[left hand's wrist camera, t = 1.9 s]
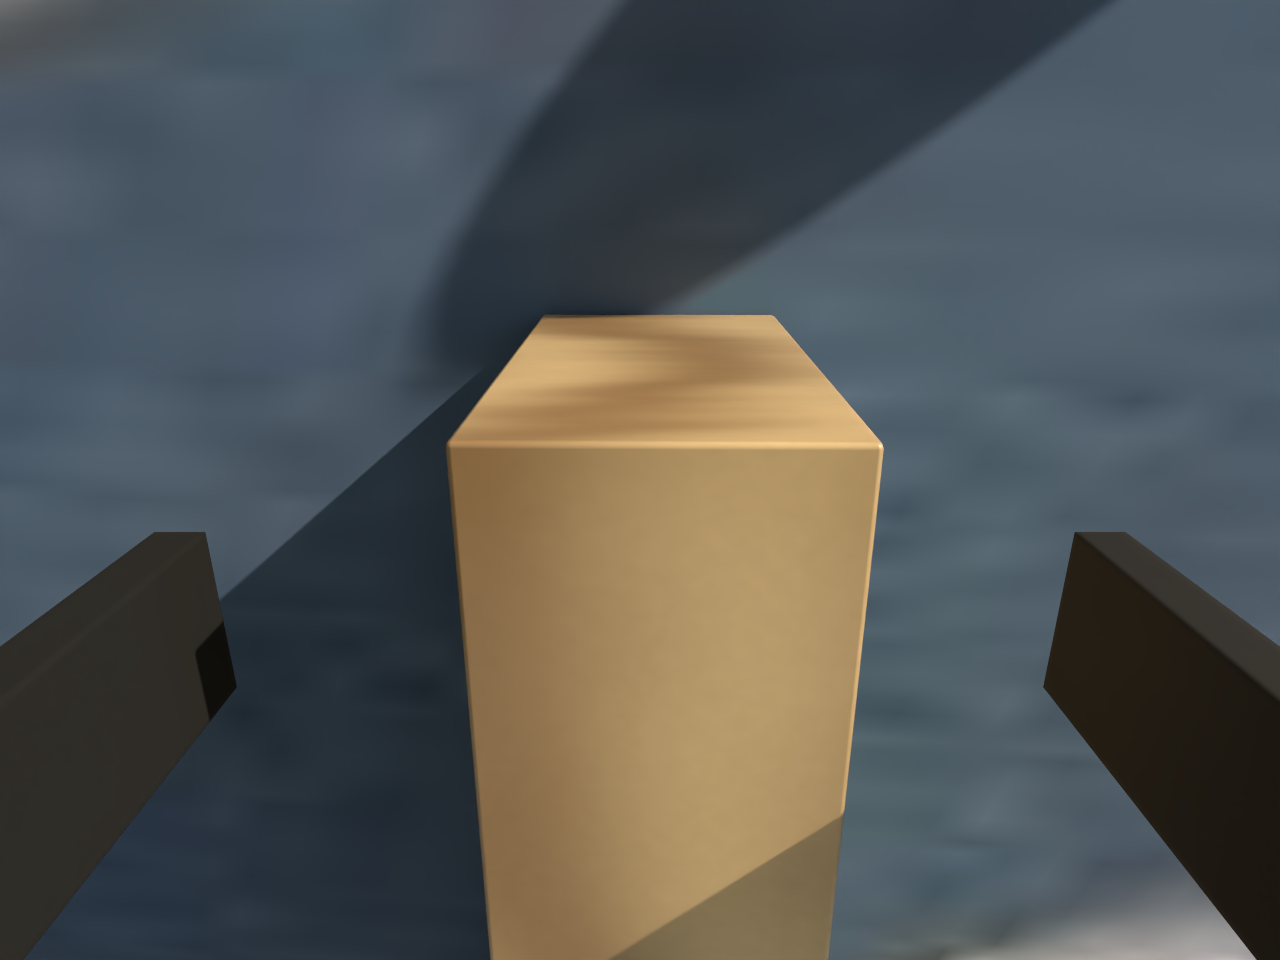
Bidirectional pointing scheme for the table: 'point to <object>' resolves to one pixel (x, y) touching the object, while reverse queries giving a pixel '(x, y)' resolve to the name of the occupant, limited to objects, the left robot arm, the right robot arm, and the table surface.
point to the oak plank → (661, 637)
